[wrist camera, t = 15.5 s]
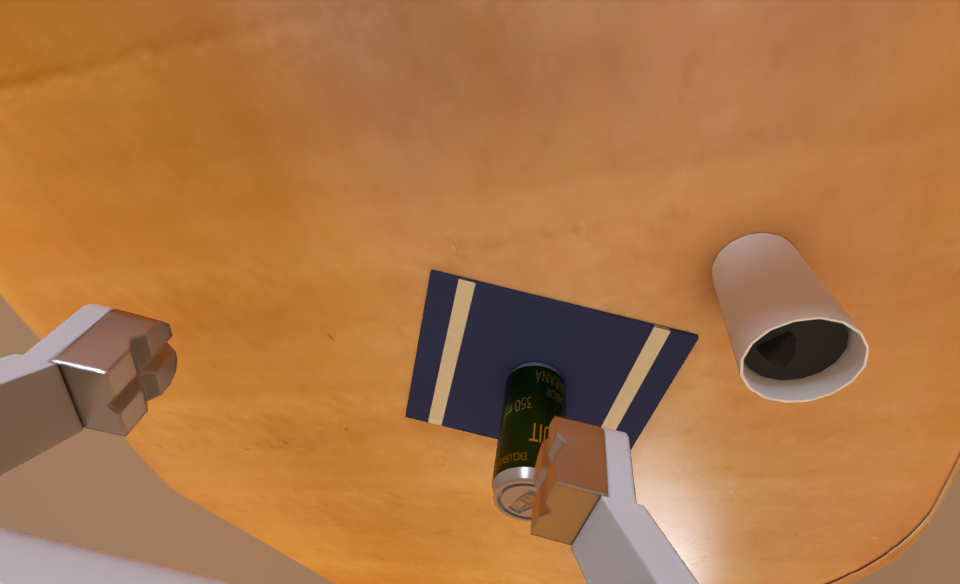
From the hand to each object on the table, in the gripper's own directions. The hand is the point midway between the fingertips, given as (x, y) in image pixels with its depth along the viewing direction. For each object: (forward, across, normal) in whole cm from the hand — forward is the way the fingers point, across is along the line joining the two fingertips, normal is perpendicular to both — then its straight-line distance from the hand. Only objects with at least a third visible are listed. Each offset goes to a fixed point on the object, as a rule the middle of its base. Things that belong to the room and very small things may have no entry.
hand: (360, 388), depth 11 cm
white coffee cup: (+27, -21, +9) cm, 36 cm away
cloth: (+27, -9, +25) cm, 38 cm away
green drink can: (+27, -9, +25) cm, 38 cm away
